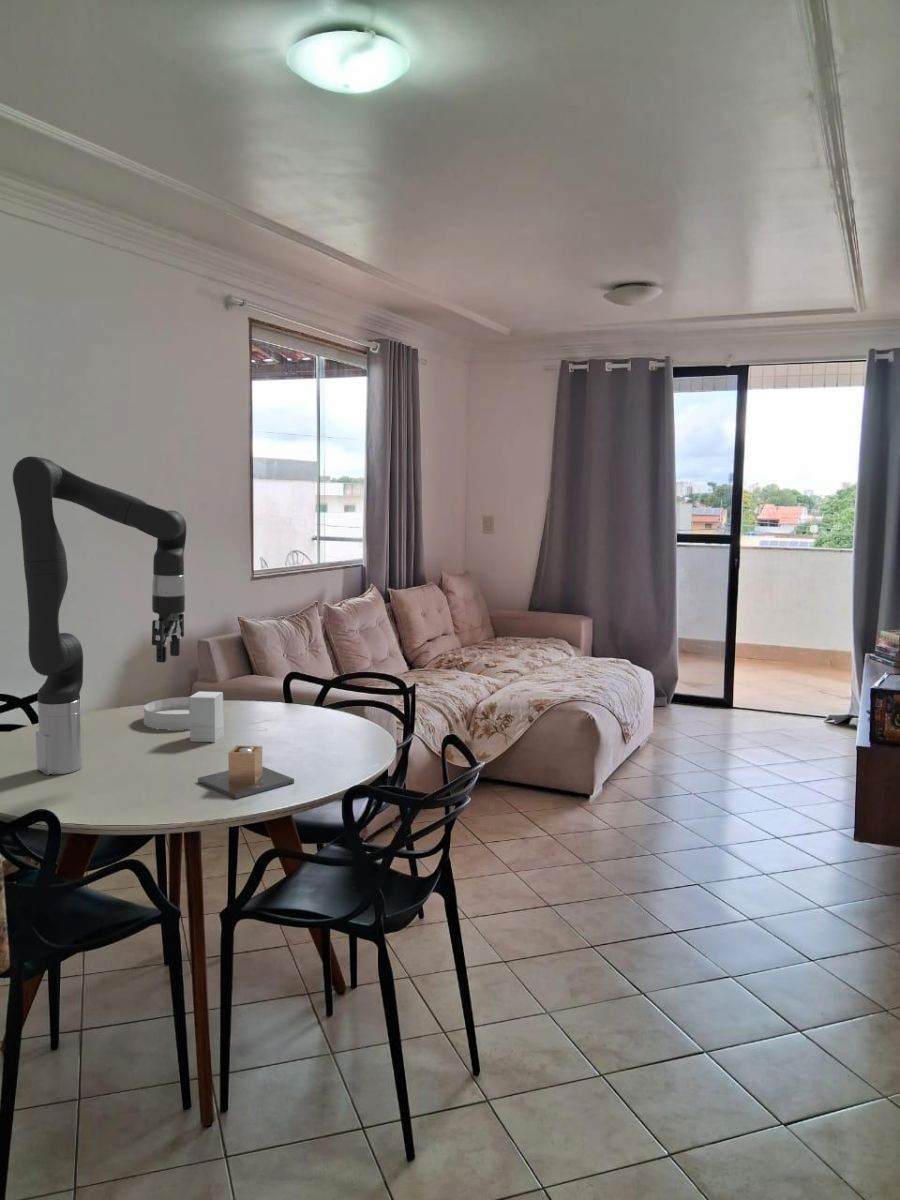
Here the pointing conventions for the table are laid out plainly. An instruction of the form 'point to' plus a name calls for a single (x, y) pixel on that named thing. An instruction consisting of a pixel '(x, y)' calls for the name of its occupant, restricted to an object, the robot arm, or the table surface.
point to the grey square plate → (243, 789)
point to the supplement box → (206, 716)
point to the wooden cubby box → (245, 765)
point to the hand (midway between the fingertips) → (168, 658)
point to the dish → (168, 714)
